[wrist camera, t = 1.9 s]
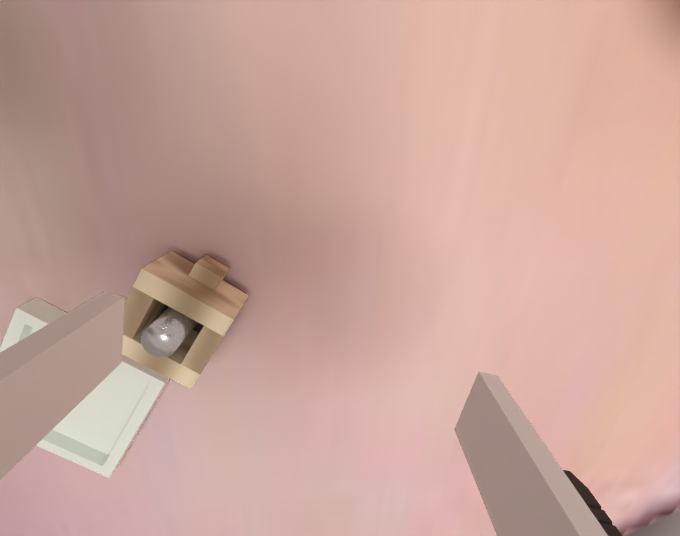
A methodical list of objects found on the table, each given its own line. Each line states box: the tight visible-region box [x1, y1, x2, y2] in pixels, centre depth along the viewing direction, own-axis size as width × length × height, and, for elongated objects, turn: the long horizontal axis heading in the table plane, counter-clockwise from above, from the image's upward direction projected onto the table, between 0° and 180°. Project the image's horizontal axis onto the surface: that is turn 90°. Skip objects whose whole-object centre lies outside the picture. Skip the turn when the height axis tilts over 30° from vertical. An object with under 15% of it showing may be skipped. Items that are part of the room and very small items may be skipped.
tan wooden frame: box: [122, 251, 249, 389], centre depth 31 cm, size 8×9×5 cm
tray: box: [0, 298, 170, 478], centre depth 38 cm, size 15×15×2 cm
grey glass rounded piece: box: [141, 280, 224, 357], centre depth 32 cm, size 7×7×8 cm
